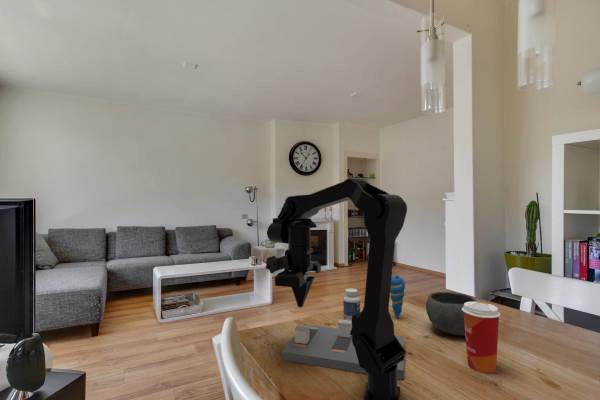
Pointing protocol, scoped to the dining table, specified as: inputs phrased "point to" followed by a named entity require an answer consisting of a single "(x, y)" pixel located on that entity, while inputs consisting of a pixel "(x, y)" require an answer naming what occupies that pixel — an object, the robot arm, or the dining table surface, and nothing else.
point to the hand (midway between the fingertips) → (300, 306)
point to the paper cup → (481, 335)
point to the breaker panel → (330, 351)
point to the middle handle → (345, 328)
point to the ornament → (397, 294)
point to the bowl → (448, 311)
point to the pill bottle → (351, 304)
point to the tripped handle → (302, 334)
